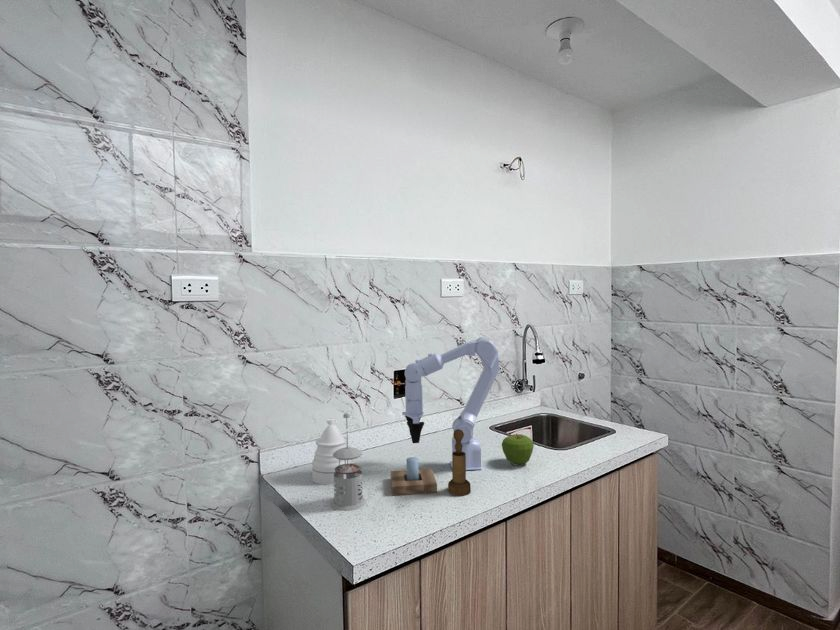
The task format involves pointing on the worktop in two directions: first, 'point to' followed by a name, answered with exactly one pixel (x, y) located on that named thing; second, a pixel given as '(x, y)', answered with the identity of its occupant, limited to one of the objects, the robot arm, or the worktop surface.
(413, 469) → the peg
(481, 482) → the worktop surface
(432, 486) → the socket block
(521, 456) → the apple
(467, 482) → the mortar and pestle
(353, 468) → the french press
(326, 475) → the honey pot
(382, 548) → the worktop surface
